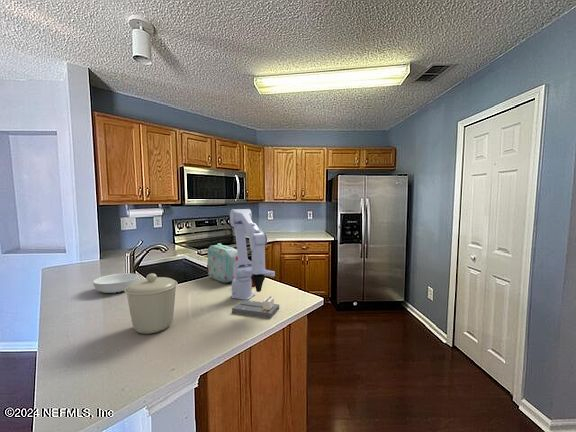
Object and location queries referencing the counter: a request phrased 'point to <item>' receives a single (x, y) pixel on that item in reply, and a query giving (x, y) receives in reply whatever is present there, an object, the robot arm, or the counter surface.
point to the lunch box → (221, 262)
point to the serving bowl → (114, 282)
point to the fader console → (254, 309)
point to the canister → (151, 303)
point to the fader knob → (268, 303)
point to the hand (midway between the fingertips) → (258, 291)
